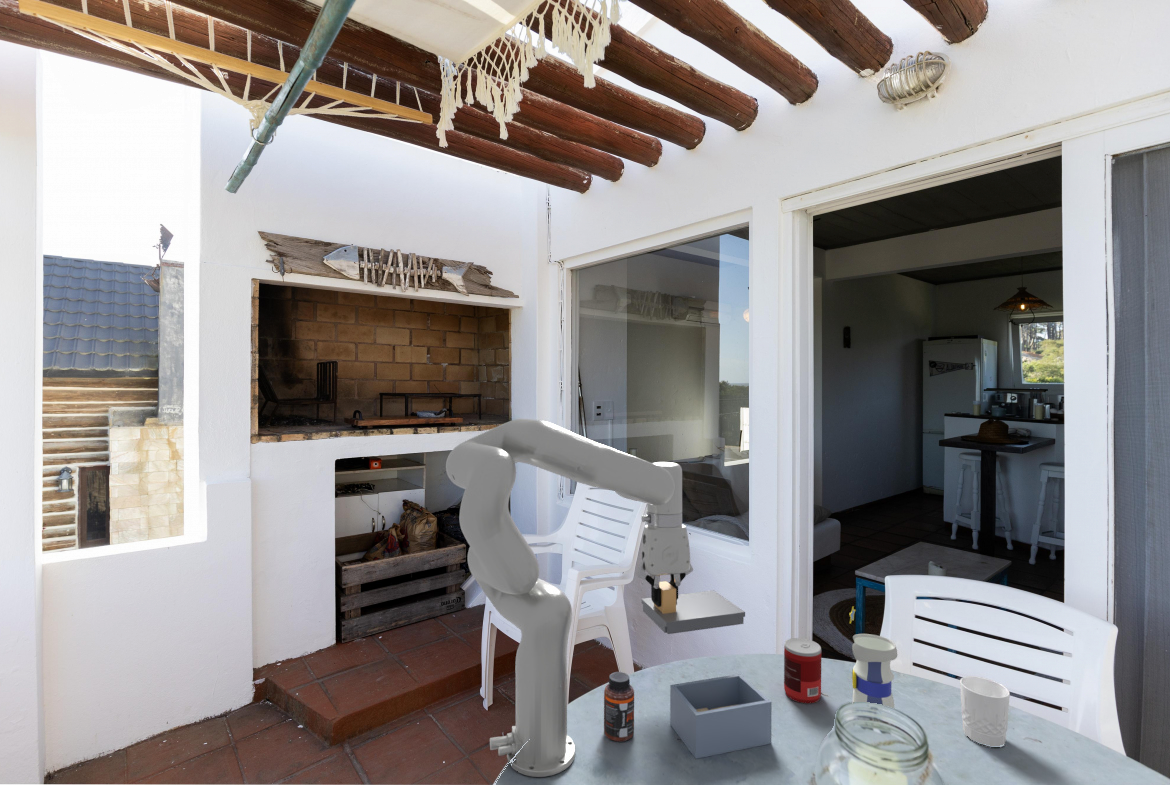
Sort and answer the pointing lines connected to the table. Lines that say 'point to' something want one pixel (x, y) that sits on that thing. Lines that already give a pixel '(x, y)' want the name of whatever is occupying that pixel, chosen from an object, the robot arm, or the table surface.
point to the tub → (720, 715)
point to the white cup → (984, 710)
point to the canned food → (802, 670)
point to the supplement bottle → (619, 707)
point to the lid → (691, 611)
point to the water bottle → (872, 668)
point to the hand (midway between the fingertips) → (664, 602)
